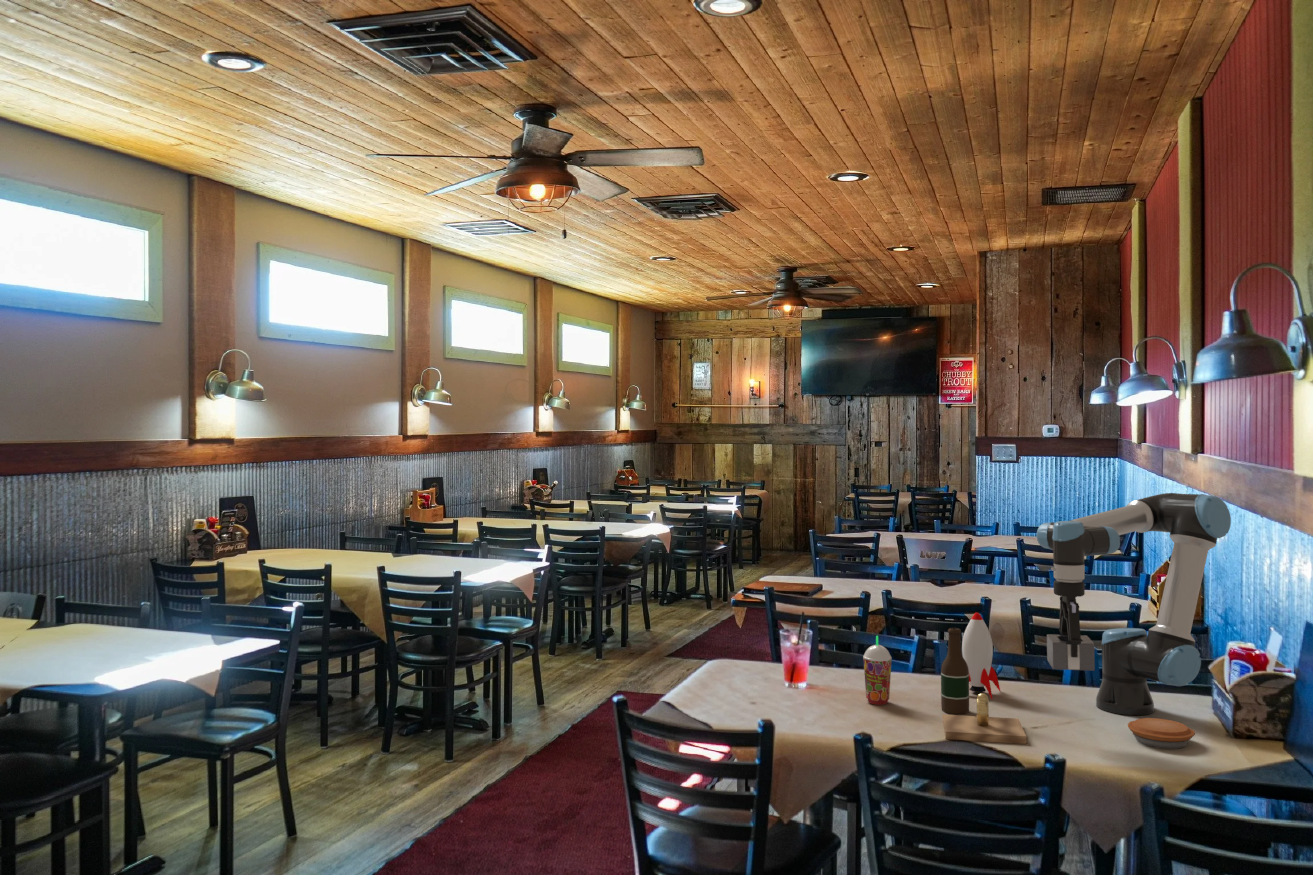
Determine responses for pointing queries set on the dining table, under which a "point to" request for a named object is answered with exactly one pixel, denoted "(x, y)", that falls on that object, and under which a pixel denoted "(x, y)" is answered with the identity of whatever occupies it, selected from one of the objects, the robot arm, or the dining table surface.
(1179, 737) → the pie
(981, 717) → the post
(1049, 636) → the grey square socket block
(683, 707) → the dining table surface
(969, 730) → the board
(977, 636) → the rocket
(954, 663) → the beer bottle
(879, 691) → the smoothie
